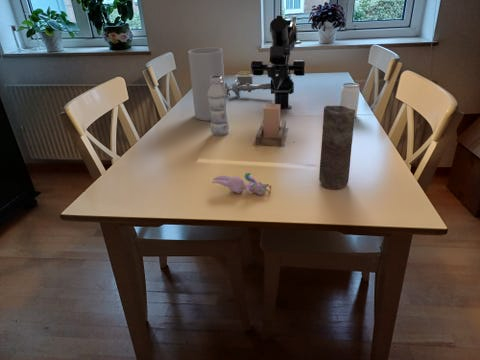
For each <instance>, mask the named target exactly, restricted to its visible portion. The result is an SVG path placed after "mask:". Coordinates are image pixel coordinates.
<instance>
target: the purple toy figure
mask: <svg viewBox="0 0 480 360" xmlns="http://www.w3.org/2000/svg"><path fill="white" fill-rule="evenodd" d="M251 175H252V173H251V172H247V173H245V174H244V179H245V180H246V181H247V182H248V183H245V180H243V178H241V177H240V176H232V177H231V176H228V175H218V176H216V177H214V178H213V179H212V181H211V183H212V184H219V185H221V186H224V187H226V188H229V189H230V191H231V192H234V193H237V194H240V193H241V192H243V191H244V189H245V190H246V192H247V193H248V194H249V195H251V194H252V193H255V194H256V195H257V196H264V194H265V193H266V192H268V196H271V190H272V185H269V184H268V183H266V184H265V183H262V182H261V181H257V180H255V178H254V177H252V176H251ZM268 187H269V190H268V189H267V188H268Z"/></svg>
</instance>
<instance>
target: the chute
mask: <svg viewBox="0 0 480 360" xmlns="http://www.w3.org/2000/svg"><path fill="white" fill-rule="evenodd" d="M286 125H287V120H286V119H282V120H281V122H280V130H279V134H278V137H277V138H263V120H262V121H261V124H260V126H259V128H258V130H257V133H256V135H255V139H254V142H253V144H252V146H254V147H255V146H259V147H275V148H276V147H279V148H281V147H282V148H285V145H286V143H287V142H286V141H287V137H288V132H289V128H288V127H287V126H286ZM286 127H287V128H286Z"/></svg>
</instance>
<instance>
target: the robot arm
mask: <svg viewBox="0 0 480 360" xmlns="http://www.w3.org/2000/svg"><path fill="white" fill-rule="evenodd" d="M293 23H294V22H293V19H291V18H284V16H283V14H282V15H280V14H278V15H276V17H275V18H273V20H272V21H270V23H269V33H270V35H271V36H270V37H271V40H272V43H271V44H272V45H271V46H270V47H269V58H268V59H269V62H267V64H264V62H263V61H264V60H261V59H260V60H259V59H257V60H252V61H251V62H250V63H251V64H250V68H251V74H253V75H254V76H258V77H259V76H263V75H264V72H265V71H266V72H267V77H268V78H270V83H271V89H270V94H271V95H274V104H281V106H280V111H282V110H287V109H292V106H291V105H290V104H289V98H290V97H289V96H290V95H292V94H294V93H295V91H294V89H295V83H294V81H293V78H292V77H291V76H292V74H291V73H292V72H291V71H293V75H294V76H296V77H297V76H298V77H302V76H305V73H306V61H305V60H296V59H295V60H293V63H292V64H291V63H290V60H291V58H290V57H291V51H292V50H293V49H295V47H296V43H297V42H298V28H297V27H296V26H295V25H294V24H293Z"/></svg>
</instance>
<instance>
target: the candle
mask: <svg viewBox="0 0 480 360" xmlns="http://www.w3.org/2000/svg"><path fill="white" fill-rule="evenodd" d="M355 119H356V117H355V110H354V109H349V108H346V107H344V106H340V105H326V106H324V108H323V118H322V132H321V133H322V134H321V145H320V146H321V148H320V159H319V174H318V177H319V178H318V180H319V183H320V184H321V185H322V187H324V189H328V190H329V189H330V190H338V189H341V188H343V187H344V186H347V185H348V184H349V180H350V179H349V177H350V168H351V167H350V166H351V159H352V158H351V155H352V148H353V147H352V144H353V138H354V137H353V136H354V129H355Z"/></svg>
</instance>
